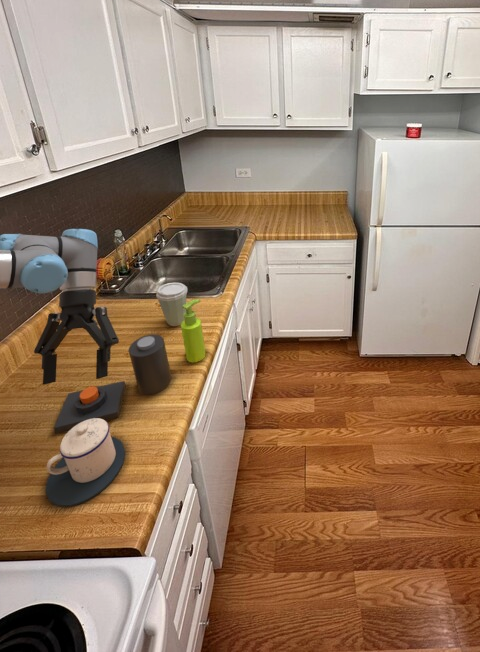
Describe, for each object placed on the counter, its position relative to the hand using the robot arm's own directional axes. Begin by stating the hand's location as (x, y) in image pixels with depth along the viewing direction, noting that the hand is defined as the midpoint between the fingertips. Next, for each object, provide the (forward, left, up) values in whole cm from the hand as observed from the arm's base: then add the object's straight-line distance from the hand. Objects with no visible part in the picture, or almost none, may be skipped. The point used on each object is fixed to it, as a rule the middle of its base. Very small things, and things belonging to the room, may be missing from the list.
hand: (75, 380), depth 79 cm
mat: (+2, -11, -16) cm, 20 cm away
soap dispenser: (+26, +19, -16) cm, 36 cm away
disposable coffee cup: (+19, +40, -16) cm, 47 cm away
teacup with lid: (+2, -11, -15) cm, 19 cm away
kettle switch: (-1, +7, -12) cm, 14 cm away
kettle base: (-1, +7, -16) cm, 17 cm away
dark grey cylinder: (+14, +11, -16) cm, 24 cm away
